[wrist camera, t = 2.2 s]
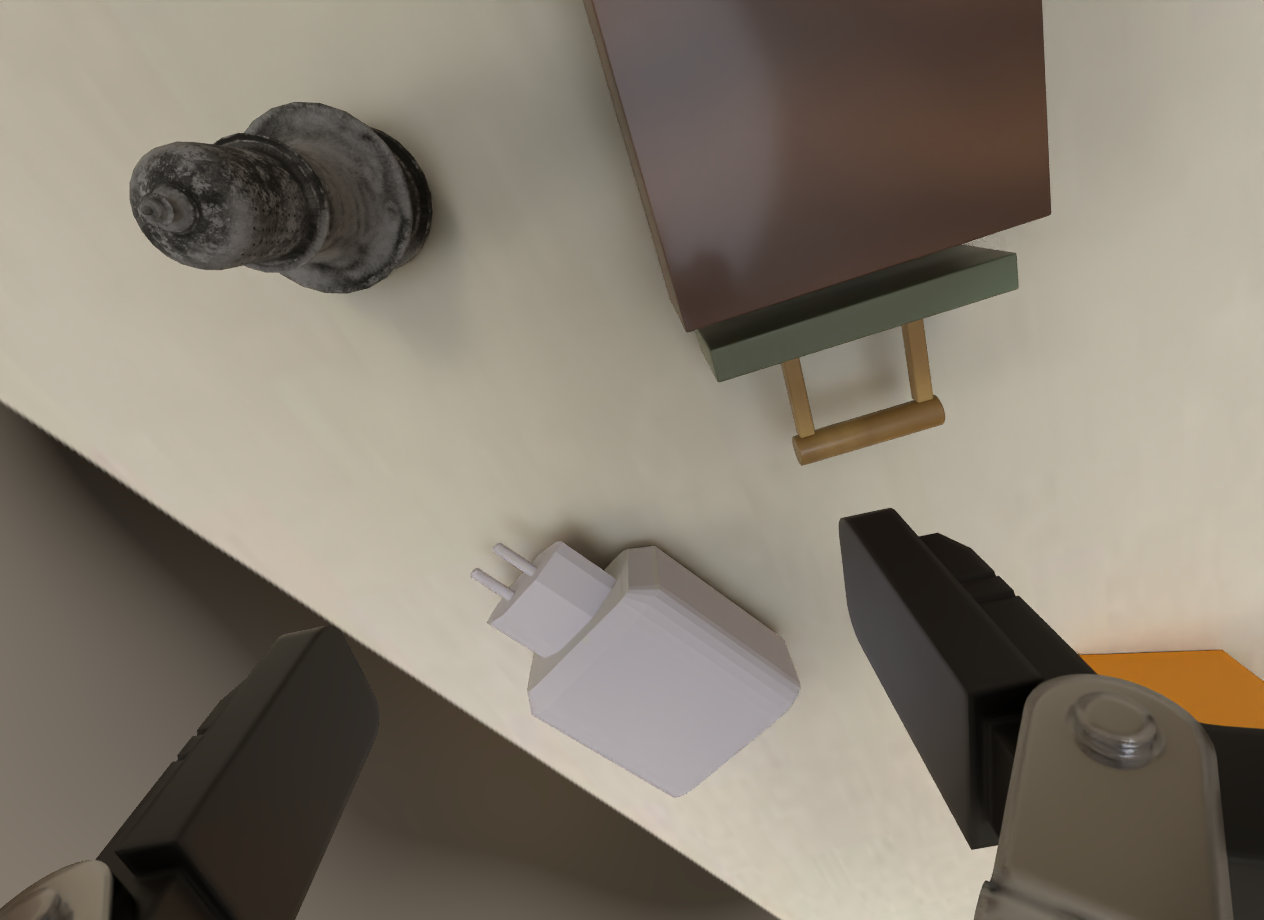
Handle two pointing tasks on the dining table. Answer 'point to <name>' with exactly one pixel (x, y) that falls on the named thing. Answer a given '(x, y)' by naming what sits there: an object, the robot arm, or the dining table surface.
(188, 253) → the salt shaker
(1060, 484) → the dining table surface
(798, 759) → the dining table surface
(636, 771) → the charger
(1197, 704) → the orange juice
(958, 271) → the drawer
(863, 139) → the cabinet
